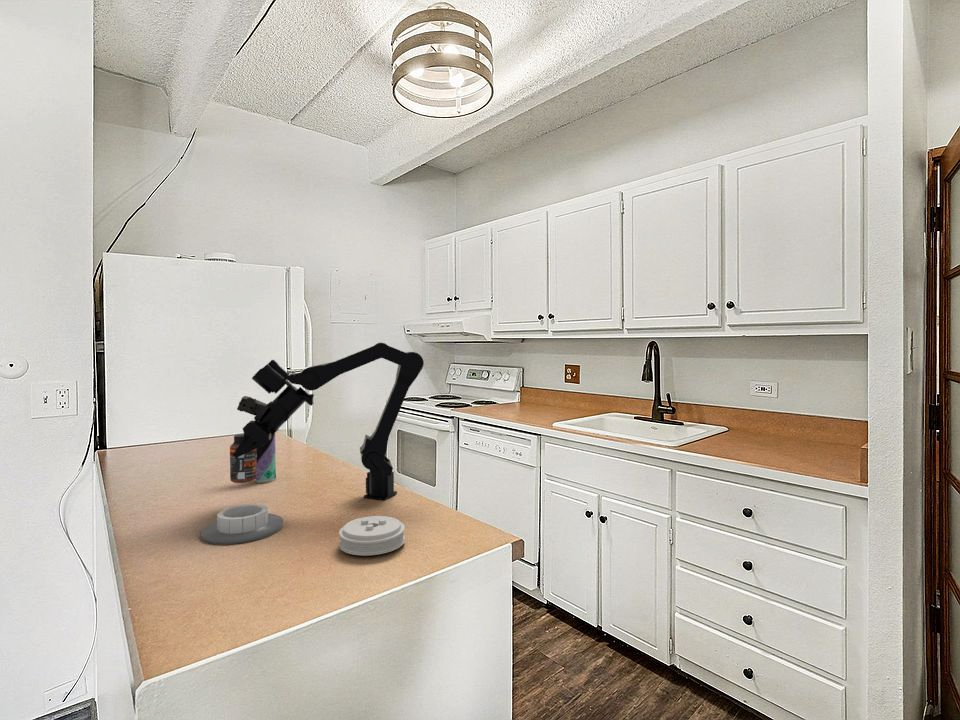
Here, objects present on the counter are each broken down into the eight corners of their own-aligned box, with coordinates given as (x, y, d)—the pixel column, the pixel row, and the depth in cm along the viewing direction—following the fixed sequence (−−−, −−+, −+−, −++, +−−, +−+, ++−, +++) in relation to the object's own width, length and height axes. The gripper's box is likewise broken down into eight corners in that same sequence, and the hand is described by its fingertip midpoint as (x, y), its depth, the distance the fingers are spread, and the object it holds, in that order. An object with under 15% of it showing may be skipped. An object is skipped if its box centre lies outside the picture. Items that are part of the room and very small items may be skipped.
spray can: (256, 483, 145) (255, 414, 144) (255, 479, 150) (253, 412, 149) (276, 481, 147) (275, 413, 147) (275, 477, 152) (273, 410, 152)
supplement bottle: (246, 484, 121) (245, 437, 120) (224, 483, 122) (223, 436, 121) (262, 477, 127) (261, 432, 126) (241, 476, 128) (239, 432, 127)
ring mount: (298, 521, 114) (298, 504, 114) (242, 549, 99) (242, 528, 99) (243, 513, 119) (243, 497, 119) (182, 538, 104) (182, 519, 104)
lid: (350, 534, 106) (349, 511, 106) (409, 535, 106) (409, 511, 106) (330, 560, 94) (329, 533, 94) (398, 560, 93) (397, 534, 93)
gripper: (264, 381, 133) (220, 425, 131) (251, 387, 115) (199, 438, 113) (297, 410, 136) (253, 453, 133) (289, 420, 118) (239, 471, 115)
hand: (237, 453), depth 124 cm, fingers closed on supplement bottle, 6 cm apart
